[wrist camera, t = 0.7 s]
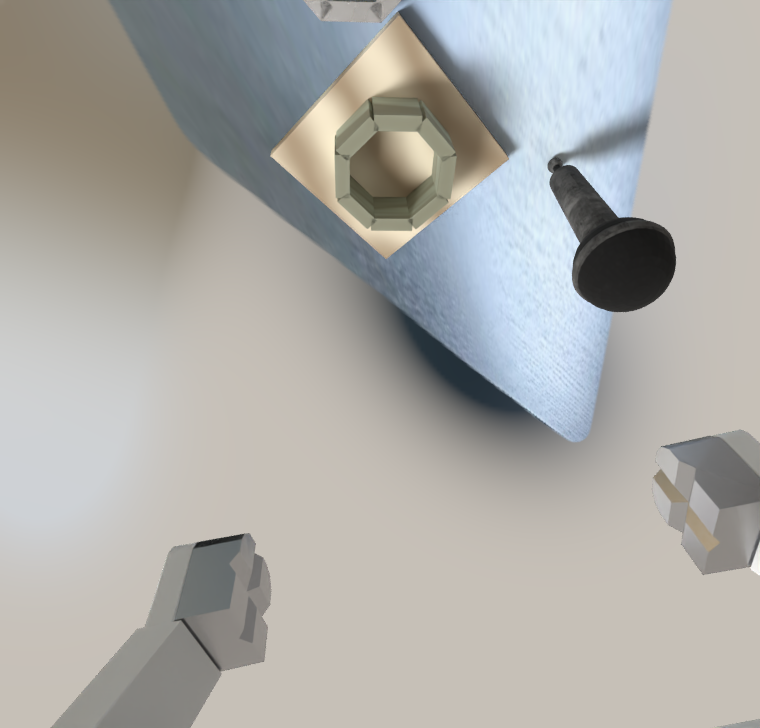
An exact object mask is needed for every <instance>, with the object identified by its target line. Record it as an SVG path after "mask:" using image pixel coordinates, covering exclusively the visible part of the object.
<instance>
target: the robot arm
mask: <svg viewBox="0 0 760 728" xmlns="http://www.w3.org/2000/svg"><path fill="white" fill-rule="evenodd" d="M656 463H657V464H658V465H659V467H660V468H661V470H660V471H659V472H658V473H657V474H656V475H655V476H654V477H653V484H652V492H653V496H654V500H655V504H656V506H657V508H658V510H659V512H660V514H661V516H662V517H663V518H664V520H665V521H666V523H667V524H668V525H669V526H671V527H673V528H675V529H677V530H679V531H680V532H682V533H683V535H682V543H681V545H682V546H683V547H684V549H685V550H686V552H687V553H688V554H689V556H690V557H691V559H692V560H693V561H694V563H695V564H696V566H697V567H698V568H699V570H700V571H701V572H702V574H703V575H704V574H711V573H717V572H722V571H728V570H734V569H740V568H746V567H751V568H750V569H751V570H752V571H754V572H755V573H757V574H758V575H760V443H759V442H758V441H757V440H756V439H755V438H753V436H751V435H750V434H749V433H747V432H745V431H743V430H738V431H732V432H728V433H723V434H718V435H714V436H707V437H702V438H698V439H693V440H689V441H685V442H680V443H675V444H670V445H666V446H661V447H660V448H659V450H658V451H657V454H656ZM255 545H256V543H255V542H254V540H253V538H252V537H251V535H250V534H249V533H248V534H240V535H234V536H229V537H224V538H217V539H212V540H206V541H201V542H197V543H192V544H186V545H181V546H175V547H173V548H172V549H171V551H170V552H169V553H168V555H167V557H166V560H165V564H164V567H163V570H162V573H161V576H160V580H159V583H158V586H157V589H156V593H155V596H154V599H153V602H152V605H151V608H150V612H149V615H148V618H147V621H146V624H145V627H143V628H139V629H137V630H136V631H135V632H134V633H133V634H132V635H131V636H130V638H129V639H128V640H127V641H126V642H125V643H124V645H123V646H122V647H121V648H120V649H119V650H118V651H117V653H116V654H115V655H114V656H113V657H112V658H111V659H110V661H109V662H108V663H107V664H106V665H105V666H104V667H103V669H102V670H101V671H100V672H99V673H98V675H96V677H95V678H94V679H93V680H92V681H91V682H90V684H89V685H88V686H87V687H86V688H85V689H84V690H83V691H82V693H81V694H80V695H79V696H78V697H77V698H76V700H75V701H74V702H73V703H72V704H71V705H70V706H69V708H68V709H67V710H66V711H65V712H64V713H63V714H62V716H61V717H60V718H59V719H58V720H57V721H56V722H55V724H54V725H53V726H52V727H51V728H190V727H191V726H192V724H193V722H194V720H195V719H196V717H197V715H198V714H199V712H200V710H201V708H202V707H203V705H204V703H205V702H206V700H207V698H208V697H209V695H210V693H211V691H212V690H213V688H214V686H215V685H216V683H217V681H218V679H219V678H220V676H221V671H225V670H229V669H233V668H238V667H242V666H247V665H251V664H255V663H260V662H264V658H265V648H266V639H267V630H268V627H267V625H266V623H265V621H264V620H263V618H262V616H263V614H264V613H265V611H266V610H267V608H268V607H269V606H270V599H271V583H270V575H269V571H268V567H267V565H266V563H265V560H264V559H263V557H261V556H259V555H257V554H255V553H254V552H255ZM715 728H760V719H757V720H752V721H746V722H741V723H736V724H730V725H725V726H720V727H715Z"/></svg>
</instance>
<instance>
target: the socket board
mask: <svg viewBox="0 0 760 728" xmlns="http://www.w3.org/2000/svg"><path fill="white" fill-rule="evenodd" d="M271 157H272V158H274V159H275V160H276V161H277V162H278V163H279V164H280V165H281V166H283V167H284V168H285V169H286V170H287V171H288V172H289V173H290V174H292V175H293V176H294V177H295V178H296V179H297V180H298V181H299V182H300V183H302V184H303V185H304V186H305V187H306V188H307V189H308V190H309V191H311V192H312V193H313V194H314V195H315V196H316V197H317V198H318V199H320V200H321V201H322V202H323V203H324V204H325V205H326V206H327V207H328V208H330V209H331V210H332V211H333V212H334V213H335V214H336V215H337V216H339V217H340V218H341V219H342V220H343V221H344V222H345V223H346V224H348V225H349V226H350V227H351V228H352V229H353V230H354V231H355V232H356V233H358V234H359V235H360V236H361V237H362V238H363V239H364V240H365V241H367V242H368V243H369V244H370V245H371V246H372V247H373V248H374V249H376V250H377V251H378V252H379V253H380V254H381V255H382V256H383V257H384V258H386V259H387V258H388V257H389V256H390V255H392V254H393V253H394V252H395V251H397V250H398V249H399V248H400V247H402V246H403V245H404V244H405V243H406V242H408V241H409V240H410V239H411V238H413V237H414V236H415V235H416V234H417V233H419V232H420V231H421V230H422V229H424V228H425V227H426V226H427V225H429V224H430V223H431V222H432V221H433V220H435V219H436V218H437V217H438V216H440V215H441V214H442V213H443V212H444V211H446V210H447V209H448V208H449V207H451V206H452V205H453V204H454V203H456V202H457V201H458V200H459V199H460V198H462V197H463V196H464V195H465V194H467V193H468V192H469V191H470V190H471V189H473V188H474V187H475V186H476V185H478V184H479V183H480V182H481V181H483V180H484V179H485V178H486V177H487V176H489V175H490V174H491V173H492V172H494V171H495V170H496V169H497V168H498V167H500V166H501V165H502V164H503V163H505V162H506V161H507V160H508V159H509V158H508V156H507V154H506V153H505V152H504V150H503V149H502V148H501V146H500V145H499V144H498V142H497V141H496V140H495V138H494V137H493V136H492V134H491V133H490V132H489V131H488V129H487V128H486V127H485V125H484V124H483V123H482V121H481V120H480V119H479V117H478V116H477V115H476V113H475V112H474V111H473V110H472V108H471V107H470V106H469V104H468V103H467V102H466V100H465V99H464V98H463V96H462V95H461V94H460V92H459V91H458V90H457V89H456V87H455V86H454V85H453V83H452V82H451V81H450V79H449V78H448V77H447V75H446V74H445V73H444V71H443V70H442V69H441V68H440V66H439V65H438V64H437V62H436V61H435V60H434V58H433V57H432V56H431V54H430V53H429V52H428V50H427V49H426V48H425V47H424V45H423V44H422V43H421V41H420V40H419V39H418V37H417V36H416V35H415V33H414V32H413V31H412V29H411V28H410V27H409V26H408V24H407V23H406V22H405V20H404V19H403V18H402V16H401V15H400V14H399V12H397V13H396V14H395V15H394V16H393V17H392V18H391V19H390V20H389V22H388V23H387V24H386V25H385V26H384V27H383V28H382V29H381V30H380V31H379V33H378V34H377V35H376V36H375V37H374V38H373V39H372V40H371V41H370V43H369V44H368V45H367V46H366V47H365V48H364V49H363V50H362V51H361V52H360V54H359V55H358V56H357V57H356V58H355V59H354V60H353V61H352V62H351V63H350V65H349V66H348V67H347V68H346V69H345V70H344V71H343V72H342V73H341V74H340V76H339V77H338V78H337V79H336V80H335V81H334V82H333V83H332V84H331V85H330V87H329V88H328V89H327V90H326V91H325V92H324V93H323V94H322V95H321V97H320V98H319V99H318V100H317V101H316V102H315V103H314V104H313V105H312V106H311V108H310V109H309V110H308V111H307V112H306V113H305V114H304V115H303V116H302V117H301V119H300V120H299V121H298V122H297V123H296V124H295V125H294V126H293V127H292V128H291V130H290V131H289V132H288V133H287V134H286V135H285V136H284V137H283V138H282V140H281V141H280V142H279V143H278V144H277V145H276V146H275V147H274V148H273V149H272V152H271Z"/></svg>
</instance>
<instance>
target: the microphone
mask: <svg viewBox="0 0 760 728" xmlns="http://www.w3.org/2000/svg"><path fill="white" fill-rule="evenodd" d="M548 170H549V171H550V172H551V173H553V174H552V176H551V178H550V187H551V189H552V191H553V193H554V195H555V197H556V199H557V201H558V203H559V204H560V206H561V208H562V210H563V212H564V214H565V216H566V218H567V220H568V221H569V223H570V225H571V227H572V229H573V231H574V233H575V235H576V236H577V238H578V240H579V242H580V245H579V246H578V248H577V251H576V254H575V257H574V260H573V270H572V281H573V286H574V288H575V290H576V291H577V293H578V294H579V295H580V296H581V297H582V298H583V299H585V300H586V301H588V302H590V303H591V304H593V305H595V306H596V307H598V308H601V309H604V310H607V311H612V312H629V311H634V310H637V309H640V308H642V307H645V306H647V305H648V304H650V303H652V302H654V301H655V300H656V299H657V298H658V297H660V296H661V295H662V294H663V293H664V291H665V290H666V289H667V287H668V286H669V284H670V282H671V280H672V278H673V275H674V272H675V266H676V255H675V246H674V242H673V239H672V237H671V235H670V233H669V232H668V231H667V230H666V229H665V228H664V227H662V226H660V225H658V224H656V223H654V222H651V221H646V220H644V219H640V218H632V217H625V218H618V217H617V216H616V214H615V213H614V212H613V211H612V210H611V208H610V207H609V206H608V205H607V204H606V203H605V201H604V200H603V199H602V198H601V197H600V195H599V194H598V193H597V192H596V191H595V189H594V188H593V187H592V186H591V185H590V184H589V182H588V181H587V180H586V179H585V178H584V176H583V175H582V174H581V173H580V172H579V170H578V169H577V168H576V167H574V166H571V165H566V166H562V161H561V160H560V159H559V158H553V159H551V160H550V161H549V163H548Z"/></svg>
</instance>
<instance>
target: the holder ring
mask: <svg viewBox="0 0 760 728" xmlns="http://www.w3.org/2000/svg"><path fill="white" fill-rule="evenodd" d="M400 1H401V0H304V2H305V3H306V4H307V5H308V6H309V7H310V9H311V10H312V11H313V12H314V13H315V14H316V15H317V17H318V18H319V19H320V20H321V21H341V22H374V23H381V22H382V21H383V20H384V19H385V18H386V17H387V16H388V15H389V13H390V12H391V11H392V10H393V9H394V8H395V7H396V6H397V5H398V3H399V2H400Z"/></svg>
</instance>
